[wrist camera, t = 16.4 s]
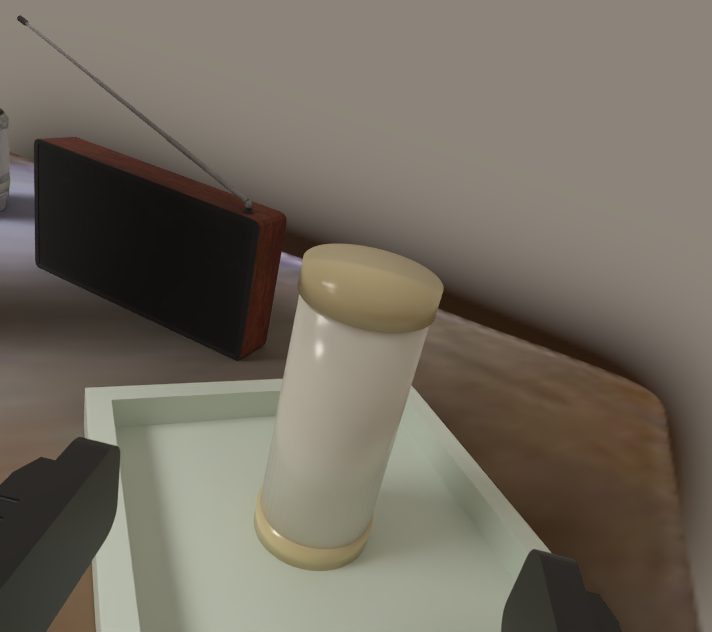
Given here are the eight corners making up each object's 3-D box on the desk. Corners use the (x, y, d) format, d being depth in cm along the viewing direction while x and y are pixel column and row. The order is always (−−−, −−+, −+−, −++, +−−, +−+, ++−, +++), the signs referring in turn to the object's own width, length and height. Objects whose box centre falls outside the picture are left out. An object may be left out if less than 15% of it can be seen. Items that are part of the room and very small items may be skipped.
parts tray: (83, 425, 27) (84, 387, 26) (392, 403, 34) (401, 373, 33) (107, 837, 14) (111, 790, 13) (591, 664, 21) (613, 627, 21)
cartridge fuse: (240, 554, 22) (290, 279, 17) (268, 472, 26) (315, 233, 21) (363, 583, 22) (446, 316, 17) (371, 497, 26) (440, 263, 21)
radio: (268, 345, 37) (312, 93, 31) (239, 363, 35) (280, 93, 28) (53, 247, 43) (53, 19, 37) (14, 256, 40) (7, 13, 34)
